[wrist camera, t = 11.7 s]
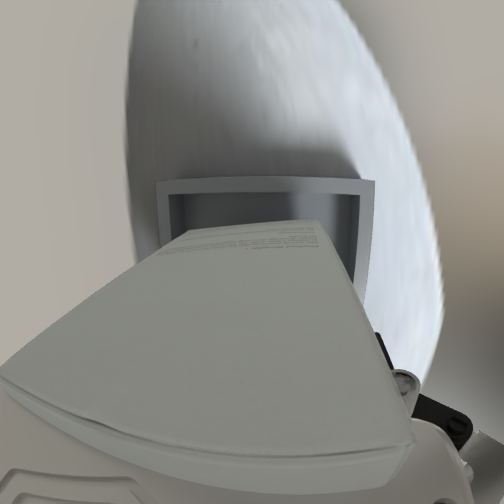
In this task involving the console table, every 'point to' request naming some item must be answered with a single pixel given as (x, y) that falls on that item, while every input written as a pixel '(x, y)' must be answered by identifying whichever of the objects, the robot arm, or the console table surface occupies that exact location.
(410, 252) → the console table surface
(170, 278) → the supplement box
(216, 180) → the holder tray
